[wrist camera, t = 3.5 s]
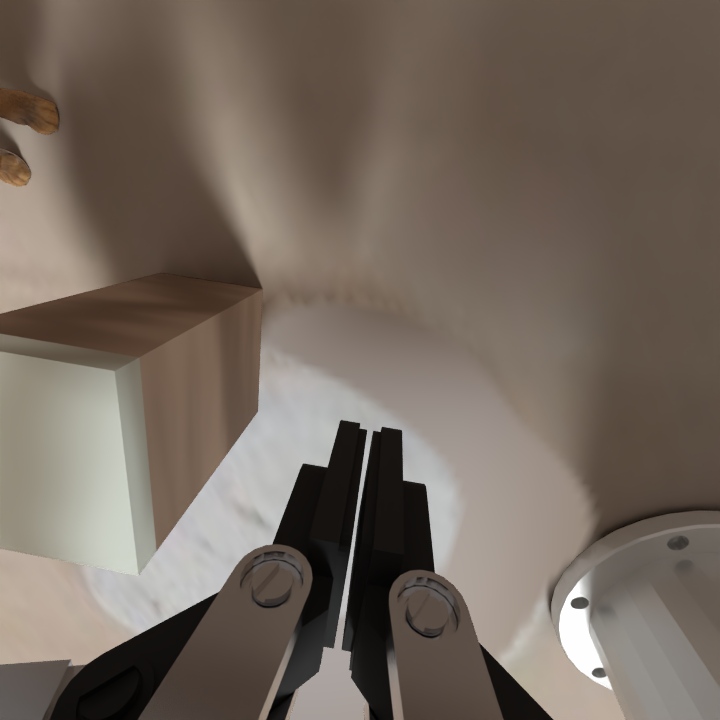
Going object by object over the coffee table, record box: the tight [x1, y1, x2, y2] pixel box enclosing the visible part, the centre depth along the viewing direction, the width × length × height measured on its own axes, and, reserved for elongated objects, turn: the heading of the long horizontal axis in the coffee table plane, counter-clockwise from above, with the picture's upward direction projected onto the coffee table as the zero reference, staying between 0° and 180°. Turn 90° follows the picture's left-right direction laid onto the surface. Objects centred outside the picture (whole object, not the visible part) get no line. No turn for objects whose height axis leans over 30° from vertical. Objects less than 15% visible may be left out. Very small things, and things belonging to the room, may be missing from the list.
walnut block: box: [0, 273, 263, 576], centre depth 13 cm, size 4×6×9 cm
